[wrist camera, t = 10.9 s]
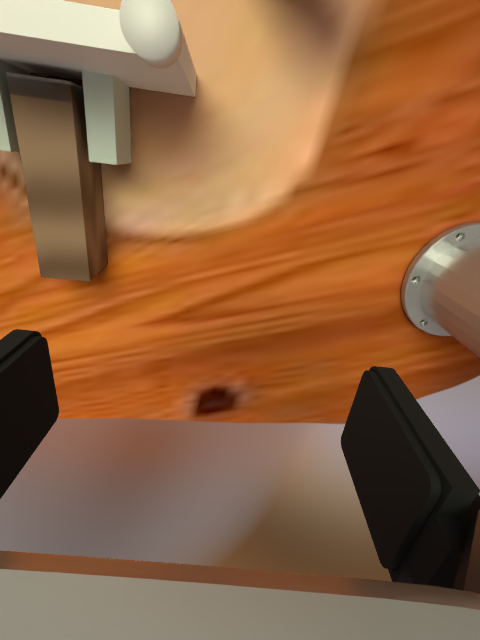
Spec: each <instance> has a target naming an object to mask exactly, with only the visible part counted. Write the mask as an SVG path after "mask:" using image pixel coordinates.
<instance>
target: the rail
mask: <svg viewBox="0 0 480 640" xmlns="http://www.w3.org/2000/svg"><path fill="white" fill-rule="evenodd" d="M6 74H7V80H8V86H9V92H10V98H11V104H12V109H13V115H14V121H15V127H16V133H17V139H18V145H19V150H20V156H21V162H22V168H23V174H24V180H25V186H26V191H27V197H28V203H29V209H30V215H31V221H32V227H33V232H34V238H35V244H36V250H37V256H38V262H39V268H40V273H41V277H44V278H56V279H67V280H79V281H91V280H92V279H93V278H94V277H95V276H96V275H97V274H98V273H99V272H100V271H101V270H102V269H103V268H104V267H105V266H106V265H107V264H108V258H107V244H106V230H105V216H104V202H103V188H102V174H101V163H98V162H90V161H89V153H88V141H87V129H86V116H85V104H84V92H83V87H81V86H79V85H77V84H75V83H73V82H71V81H65V80H58V79H51V78H44V77H37V76H30V75H23V74H16V73H9V72H6Z"/></svg>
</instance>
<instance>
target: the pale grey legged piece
mask: <svg viewBox="0 0 480 640" xmlns="http://www.w3.org/2000/svg"><path fill="white" fill-rule="evenodd" d="M6 72H9V73H16V74H23V75H30V72H32V73H39V74H46V75H52V76H59V77H65V78H72V79H79V80H83V92H84V104H85V116H86V129H87V141H88V153H89V161H90V162H98V163H106V164H114V165H120V164H128V163H131V129H130V93H129V87H132V88H139V89H145V90H152V91H159V92H165V93H172V94H179V95H185V96H192V97H195V96H196V76H197V74H196V71H195V68H194V65H193V62H192V59H191V56H190V53H189V50H188V47H187V44H186V40H185V37H184V34H183V31H182V28H181V25H180V22H179V20H178V18H177V15H176V12H175V9H174V6H173V4H172V2H171V1H170V0H122V2H121V6H120V10H115V9H109V8H104V7H98V6H92V5H86V4H80V3H75V2H69V1H63V0H0V150H3V151H20V150H19V145H18V139H17V133H16V127H15V121H14V115H13V109H12V104H11V98H10V92H9V86H8V80H7V74H6ZM30 76H31V75H30Z"/></svg>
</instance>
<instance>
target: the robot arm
mask: <svg viewBox="0 0 480 640" xmlns="http://www.w3.org/2000/svg"><path fill="white" fill-rule="evenodd" d="M401 301H402V306H403V309H404V311H405V313H406V316H407V317H408V318H409V319H410V321H411V322H412V323H413V324H414V325H415V326H417V327H418V328H419V329H421V330H423V331H424V332H426V333H429V334H432V335H436V336H453V337H454V338H455V339H456V340H458V341H459V342H460V343H461V344H463V345H464V346H465V347H466V348H468V349H469V350H470V351H471V352H473V353H474V354H475V355H476V356H478V357H479V358H480V222H470V223H466V224H462V225H458V226H455V227H453V228H451V229H449V230H447V231H444V232H443V233H441V234H440V235H438V236H437V237H435V238H434V239H432V240H431V241H430V242H429V243H428V244H427V245H426V246H424V247H423V248H422V250H421V251H420V252H419V253H418V254H417V255H416V257H415V258H414V259H413V261H412V263H411V264H410V266H409V267H408V270H407V272H406V274H405V277H404V279H403V284H402V288H401ZM58 414H59V407H58V401H57V395H56V389H55V383H54V378H53V372H52V366H51V360H50V355H49V349H48V343H47V340H46V338H44V337H42V336H41V334H40V333H39V332H37V331H29V330H19V329H16V330H13V331H12V332H10V333H9V334H8V335H6V336H5V337H4V338H2V339H1V340H0V498H1V497H2V496H3V495H4V493H5V492H6V490H7V489H8V487H9V486H10V485H11V483H12V482H13V480H14V479H15V478H16V476H17V475H18V474H19V472H20V471H21V469H22V468H23V467H24V465H25V464H26V462H27V461H28V459H29V458H30V457H31V455H32V454H33V452H34V451H35V450H36V448H37V447H38V445H39V444H40V443H41V441H42V440H43V438H44V437H45V436H46V434H47V433H48V431H49V430H50V429H51V427H52V426H53V424H54V423H55V422H56V420H57V417H58ZM341 447H342V450H343V453H344V456H345V459H346V462H347V465H348V468H349V471H350V474H351V477H352V480H353V483H354V486H355V489H356V492H357V495H358V498H359V501H360V504H361V507H362V510H363V513H364V516H365V519H366V521H367V525H368V528H369V531H370V534H371V537H372V539H373V542H374V545H375V548H376V551H377V554H378V557H379V560H380V563H381V564H382V566H383V567H384V568H387V569H388V570H389V573H390V576H391V579H392V582H389V581H380V580H370V579H360V578H349V577H336V576H323V575H312V574H299V573H288V572H287V573H286V572H275V571H263V570H251V569H239V568H225V567H213V566H200V565H187V564H174V563H162V562H148V561H134V560H122V559H109V558H96V557H82V556H68V555H54V554H40V553H26V552H11V551H0V640H480V496H479V495H478V493H479V492H480V490H479V488H478V487H477V486H476V484H475V483H474V481H473V480H472V478H471V477H470V476H469V474H468V473H467V472H466V470H465V469H464V467H463V466H462V464H461V463H460V462H459V460H458V459H457V457H456V456H455V455H454V453H453V452H452V450H451V449H450V447H449V446H448V445H447V443H446V442H445V441H444V439H443V438H442V436H441V435H440V433H439V432H438V430H437V429H436V428H435V426H434V425H433V423H432V422H431V421H430V419H429V418H428V416H427V415H426V414H425V412H424V411H423V409H422V408H421V406H420V405H419V404H418V402H417V401H416V399H415V398H414V397H413V395H412V394H411V392H410V391H409V390H408V388H407V387H406V385H405V384H404V382H403V381H402V380H401V378H400V377H399V375H398V374H397V373H396V371H395V370H394V369H392V368H385V367H376V366H373V367H371V368H370V370H369V371H368V370H366V371H365V372H364V373H363V375H362V378H361V381H360V384H359V387H358V390H357V393H356V395H355V398H354V401H353V404H352V407H351V410H350V413H349V416H348V419H347V421H346V424H345V427H344V430H343V433H342V436H341Z"/></svg>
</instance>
